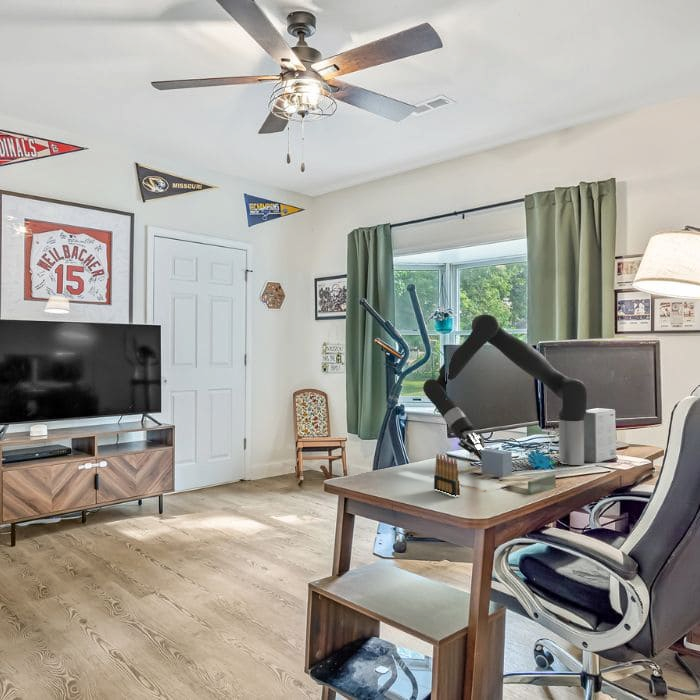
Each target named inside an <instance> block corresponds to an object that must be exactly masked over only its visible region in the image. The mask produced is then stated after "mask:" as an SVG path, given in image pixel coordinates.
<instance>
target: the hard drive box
mask: <svg viewBox="0 0 700 700" xmlns="http://www.w3.org/2000/svg"><path fill="white" fill-rule="evenodd" d="M616 428H617V427H616V410H615V409H612V408H603V407H602V408H601V407H597V408H591V409H586V413H585V416H584V462H589V463H593V464H594V463H595V464H598V463H600V462H601V463H602V462H603V461H604V462H605V461H608V460H612V459H613V460H614V459H617V435H616V433H617V432H616V431H617V430H616Z"/></svg>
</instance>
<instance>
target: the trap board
mask: <svg viewBox="0 0 700 700" xmlns="http://www.w3.org/2000/svg"><path fill="white" fill-rule="evenodd" d="M479 467H480V466H475V465H472V466H468V467H463V468H459V469H458V475H461V476H465V475H467V474H473V473H476V474H481V475H478V476H474V478H475V479H479V480H487V479H491V478H499V479H503V480H500V481H496V483H498V484H502V485H505V486H501V487H500V489H503V490H504V489H505V490H509V491H513V492H518V493H522V494H527V495H531V496H532V495H535V494H538V493H542V492H545V491H548V490H551V489H554V488H557V486H556V475H555V474H553V473H552V474H549V475H546V476H541V477H539V478H538V477H537V478H534V477H530V476H525V475H519V474H515V473H512V475H509V476H506V477H500V476H495V475H490V474H486V473H482V469H481V468H482V467H481V468H479Z"/></svg>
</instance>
